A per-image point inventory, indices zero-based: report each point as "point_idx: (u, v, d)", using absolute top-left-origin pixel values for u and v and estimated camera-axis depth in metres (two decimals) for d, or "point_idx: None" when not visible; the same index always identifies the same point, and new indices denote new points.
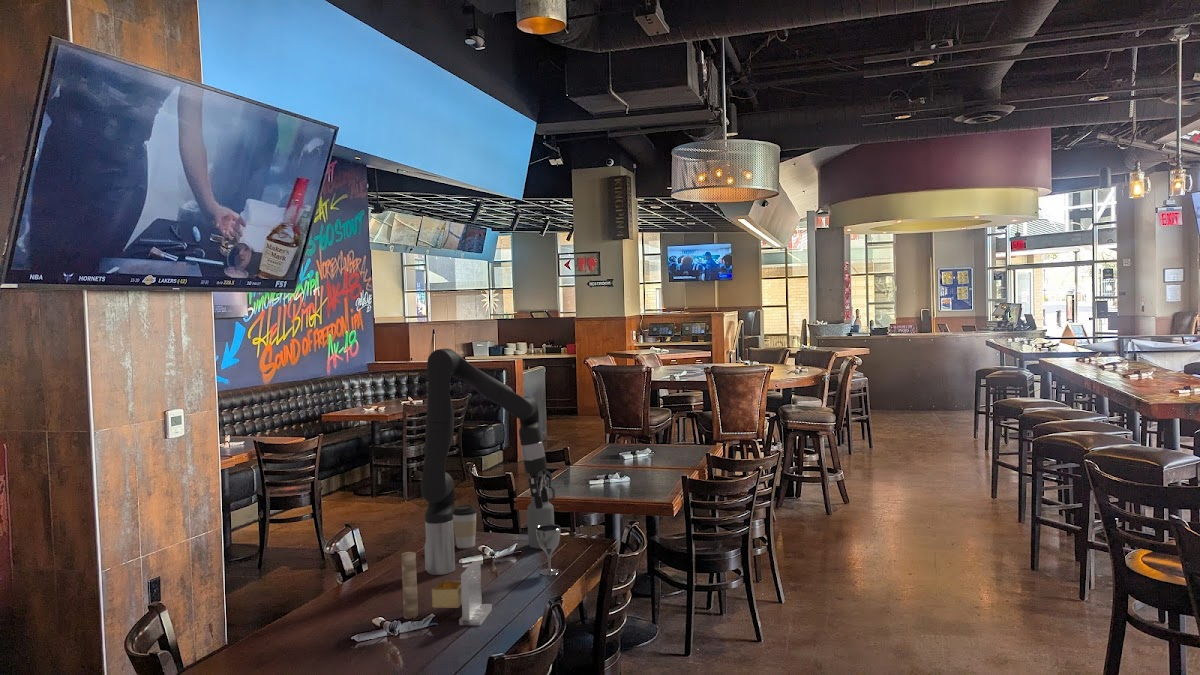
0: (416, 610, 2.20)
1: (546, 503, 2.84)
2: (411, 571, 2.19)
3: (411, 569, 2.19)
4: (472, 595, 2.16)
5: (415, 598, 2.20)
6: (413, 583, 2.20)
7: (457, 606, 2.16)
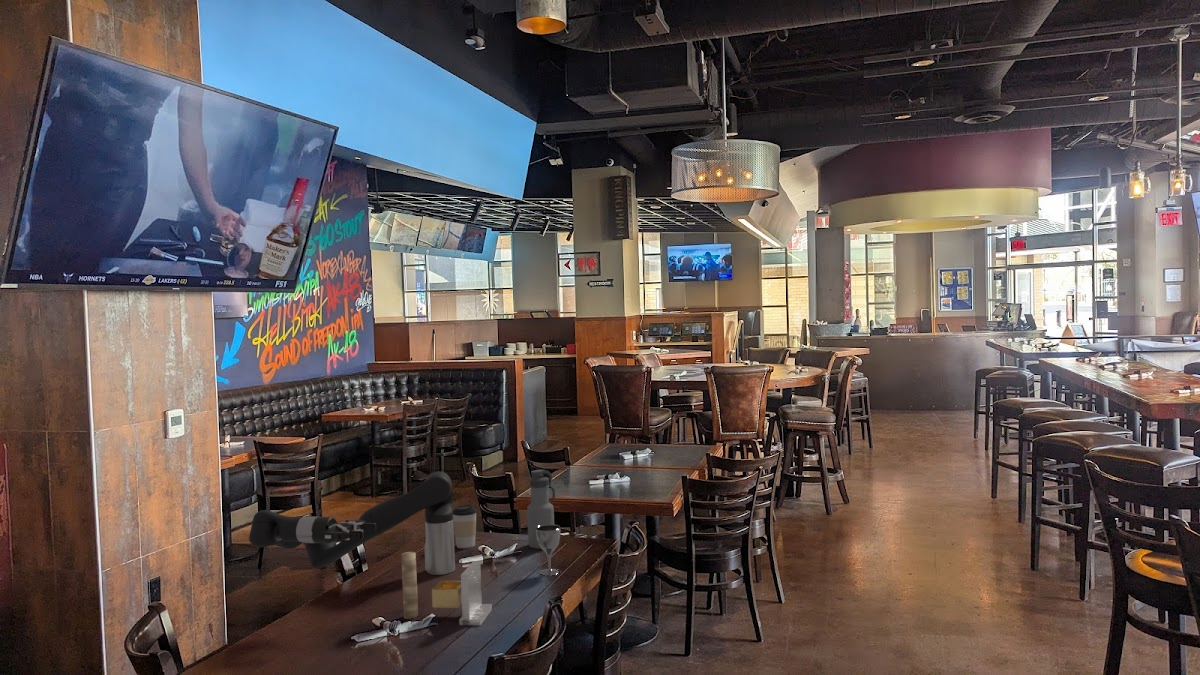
0: (416, 610, 2.20)
1: (546, 503, 2.84)
2: (411, 571, 2.19)
3: (411, 569, 2.19)
4: (472, 595, 2.16)
5: (415, 598, 2.20)
6: (413, 583, 2.20)
7: (457, 606, 2.16)
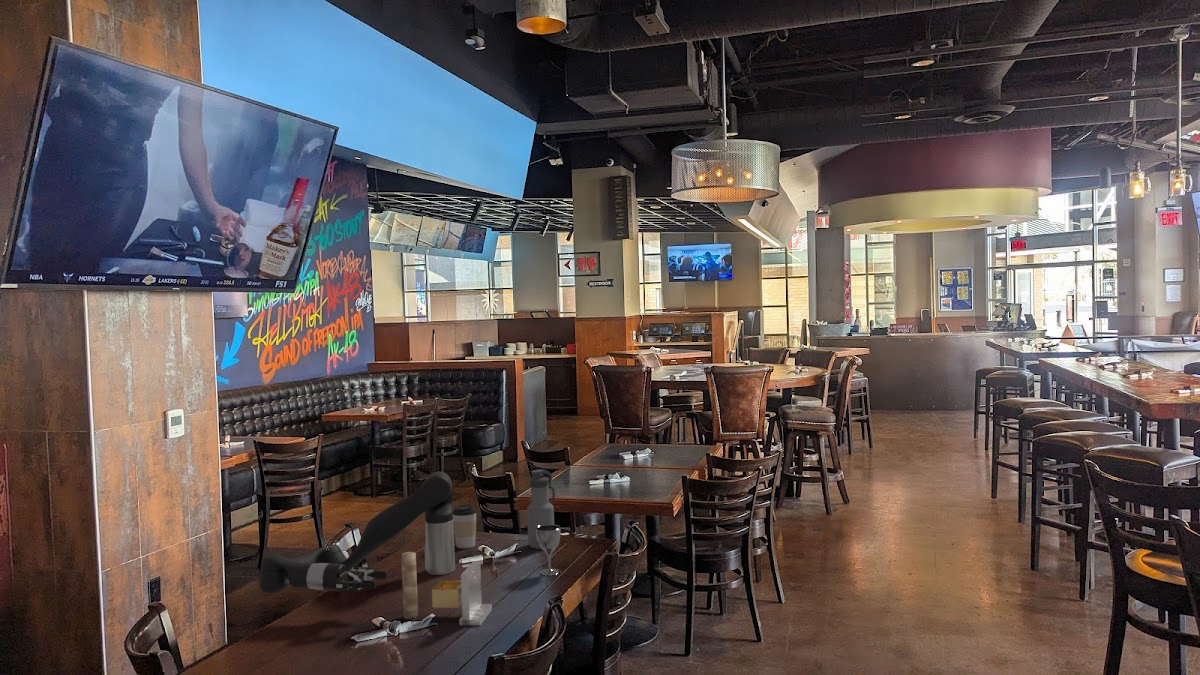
0: (416, 610, 2.20)
1: (546, 503, 2.84)
2: (411, 571, 2.19)
3: (411, 569, 2.19)
4: (472, 595, 2.16)
5: (415, 598, 2.20)
6: (413, 583, 2.20)
7: (457, 606, 2.16)
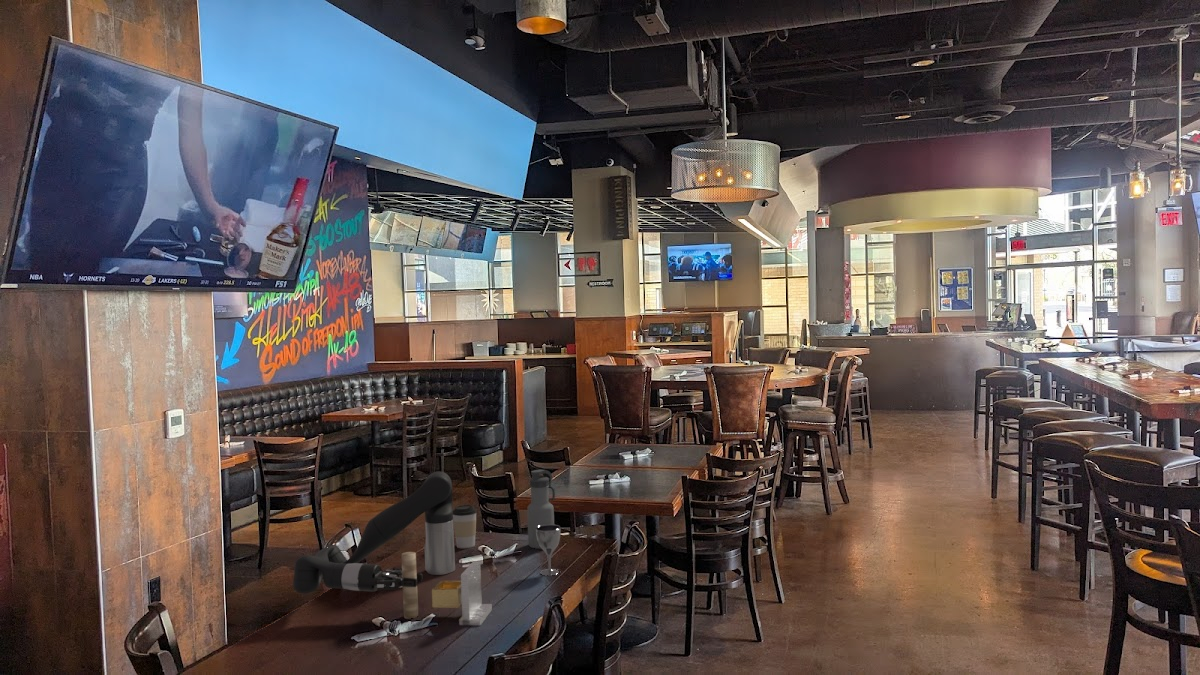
0: (416, 610, 2.20)
1: (546, 503, 2.84)
2: (411, 571, 2.19)
3: (411, 569, 2.19)
4: (472, 595, 2.16)
5: (415, 598, 2.20)
6: None
7: (457, 606, 2.16)
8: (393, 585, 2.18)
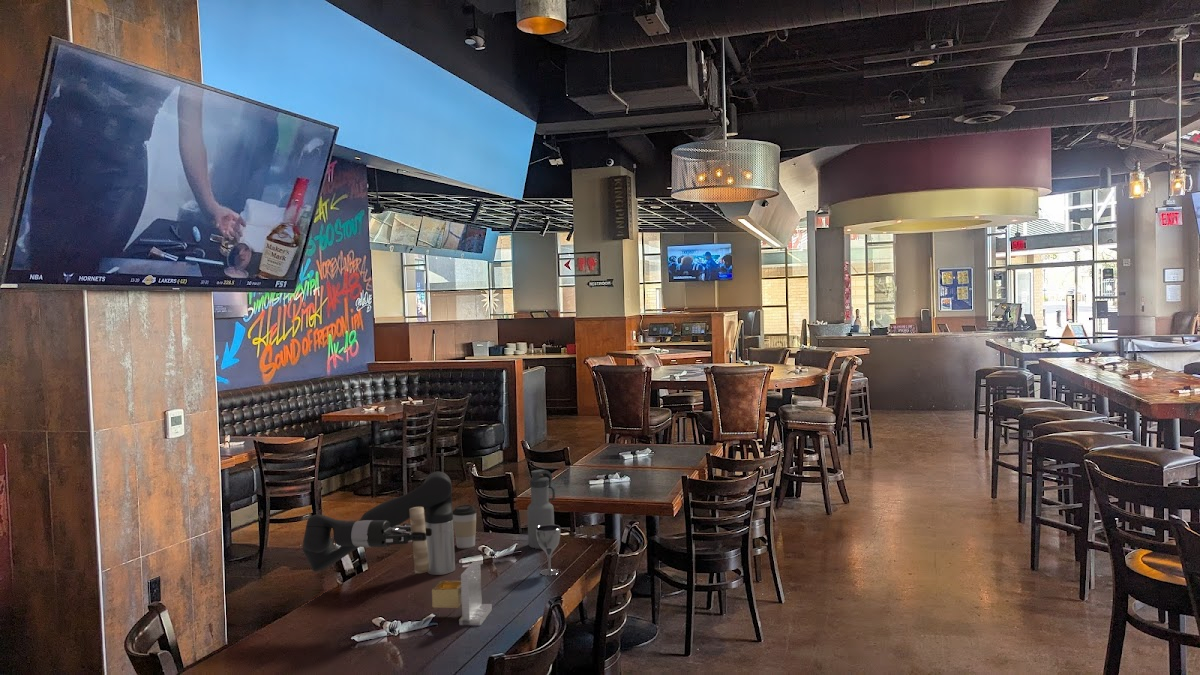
0: (427, 564, 2.19)
1: (546, 503, 2.84)
2: (420, 525, 2.18)
3: (419, 523, 2.18)
4: (472, 595, 2.16)
5: (425, 552, 2.19)
6: None
7: (457, 606, 2.16)
8: (402, 540, 2.18)
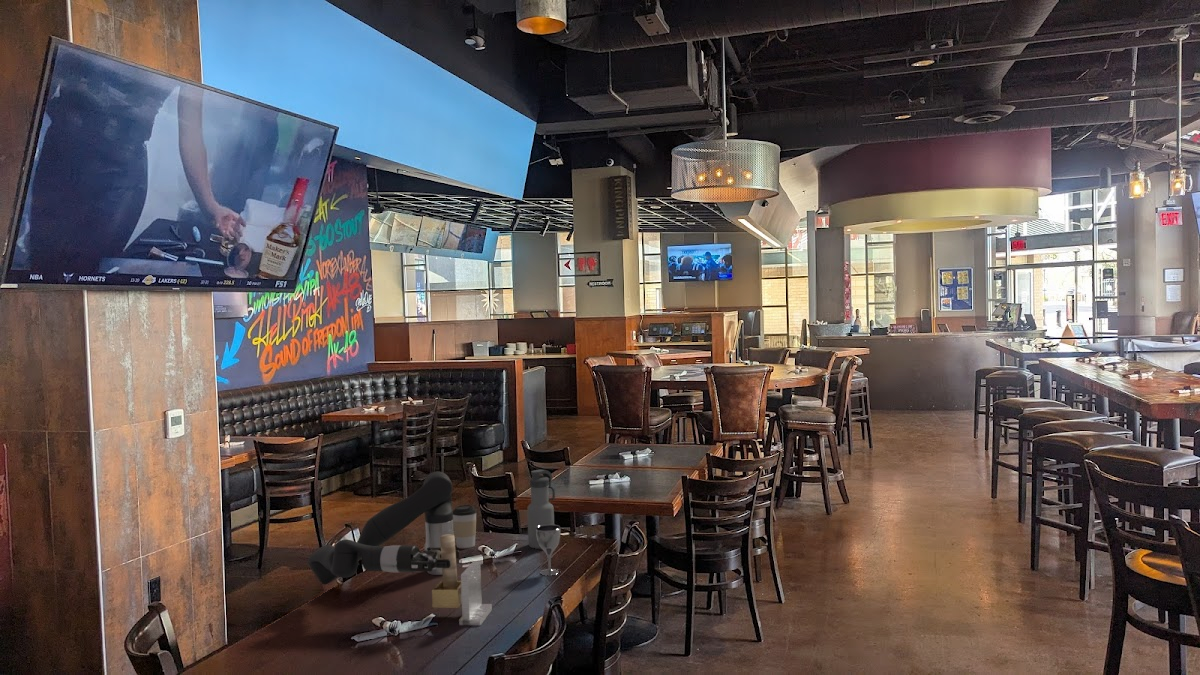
0: None
1: (546, 503, 2.84)
2: (450, 553, 2.18)
3: (450, 552, 2.18)
4: (472, 595, 2.16)
5: (455, 580, 2.18)
6: (453, 565, 2.18)
7: (457, 606, 2.16)
8: (428, 566, 2.16)
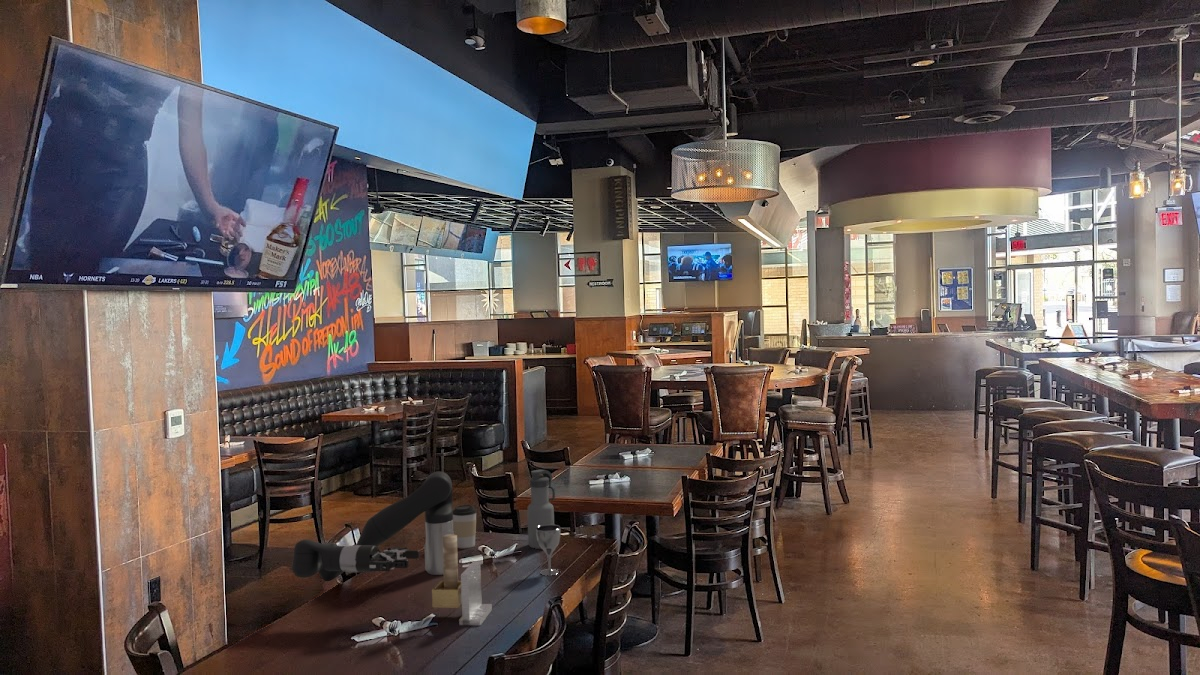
0: None
1: (546, 503, 2.84)
2: (452, 553, 2.17)
3: (452, 552, 2.17)
4: (472, 595, 2.16)
5: (456, 580, 2.18)
6: (454, 566, 2.18)
7: (457, 606, 2.16)
8: None
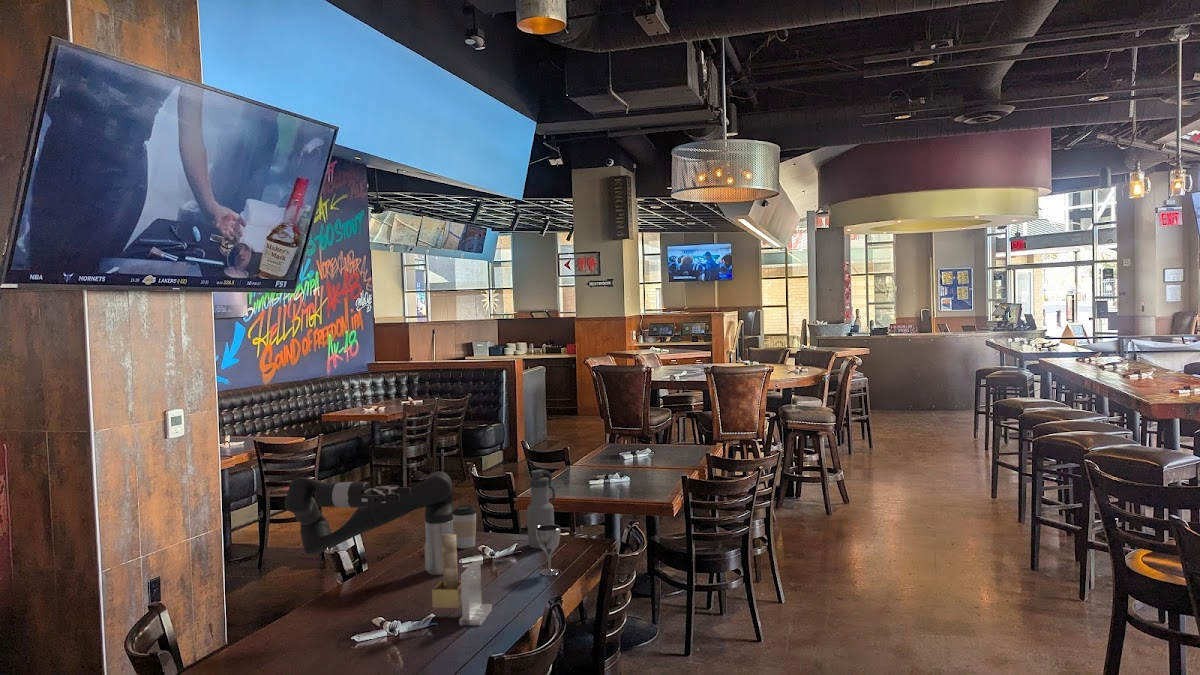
0: None
1: (546, 503, 2.84)
2: (452, 552, 2.18)
3: (452, 551, 2.18)
4: (472, 595, 2.16)
5: (455, 580, 2.19)
6: (454, 565, 2.18)
7: (457, 606, 2.16)
8: None
